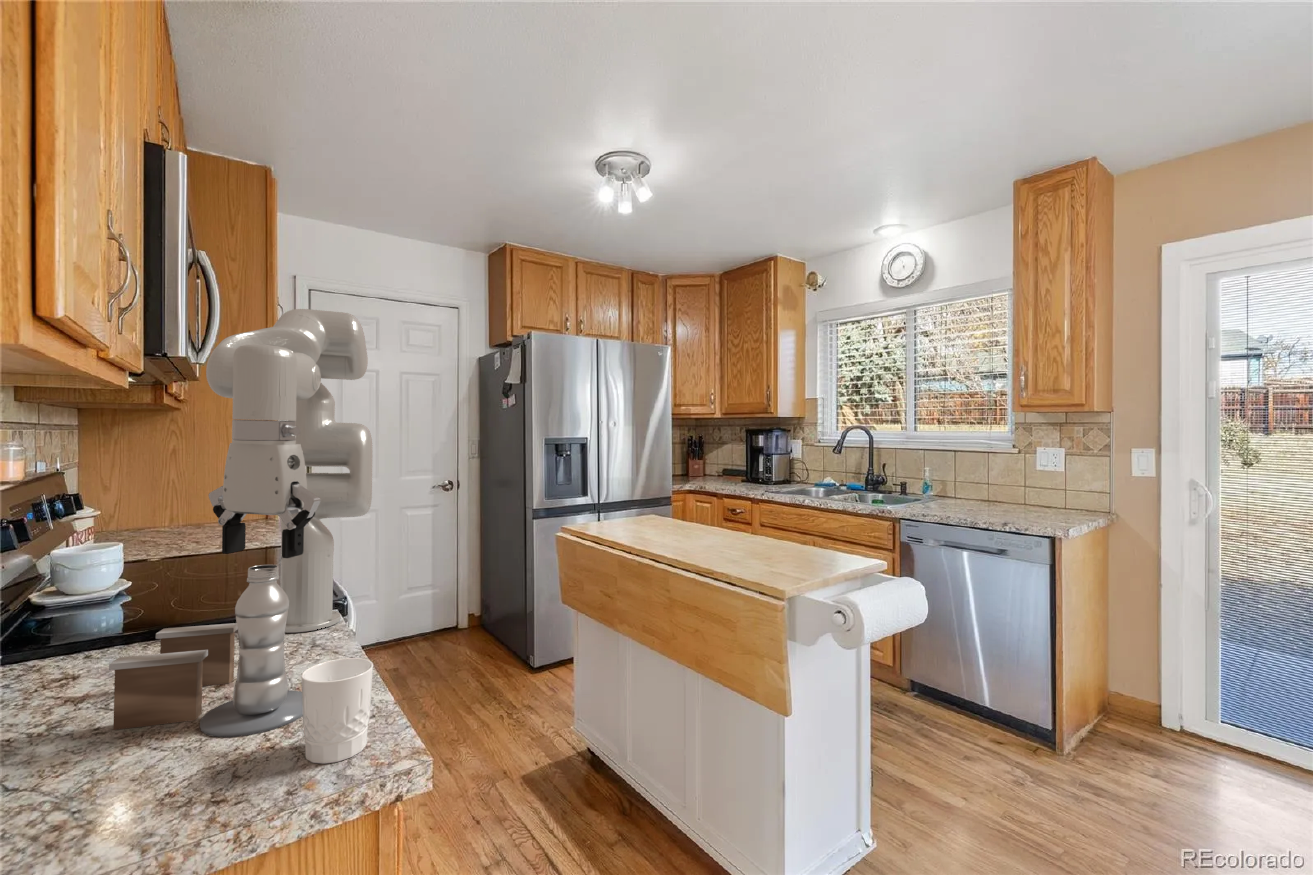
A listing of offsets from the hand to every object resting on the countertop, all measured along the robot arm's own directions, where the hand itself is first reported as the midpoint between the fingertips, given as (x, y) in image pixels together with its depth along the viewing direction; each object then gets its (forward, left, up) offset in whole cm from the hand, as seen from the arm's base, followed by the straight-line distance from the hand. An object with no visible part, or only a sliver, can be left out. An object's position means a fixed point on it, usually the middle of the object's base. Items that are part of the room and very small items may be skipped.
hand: (263, 554), depth 83 cm
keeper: (-7, -12, -22) cm, 26 cm away
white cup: (+15, +12, -23) cm, 29 cm away
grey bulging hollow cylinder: (+1, 0, -22) cm, 22 cm away
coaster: (+1, 0, -22) cm, 22 cm away
